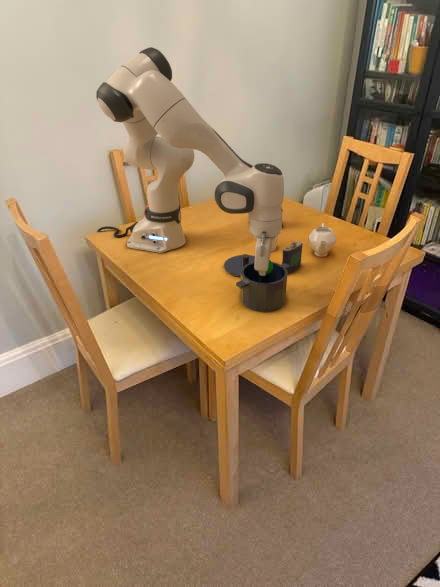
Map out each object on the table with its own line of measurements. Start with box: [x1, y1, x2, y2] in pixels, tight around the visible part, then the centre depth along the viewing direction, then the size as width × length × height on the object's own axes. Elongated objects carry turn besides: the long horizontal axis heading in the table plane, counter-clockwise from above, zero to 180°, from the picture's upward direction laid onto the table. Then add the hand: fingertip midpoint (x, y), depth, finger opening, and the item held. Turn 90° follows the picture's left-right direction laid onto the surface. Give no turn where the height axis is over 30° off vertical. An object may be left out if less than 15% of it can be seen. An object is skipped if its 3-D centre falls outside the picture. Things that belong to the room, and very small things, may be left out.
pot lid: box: [223, 253, 255, 278], centre depth 143 cm, size 15×15×5 cm
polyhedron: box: [258, 259, 273, 274], centre depth 122 cm, size 5×5×5 cm
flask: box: [281, 240, 303, 276], centre depth 140 cm, size 9×3×11 cm, turn 134°
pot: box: [235, 261, 291, 313], centre depth 126 cm, size 14×19×10 cm
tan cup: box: [271, 235, 279, 252], centre depth 155 cm, size 7×7×7 cm
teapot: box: [308, 222, 337, 257], centre depth 149 cm, size 10×20×9 cm, turn 168°
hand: (263, 268), depth 123 cm, fingers closed on polyhedron, 5 cm apart
